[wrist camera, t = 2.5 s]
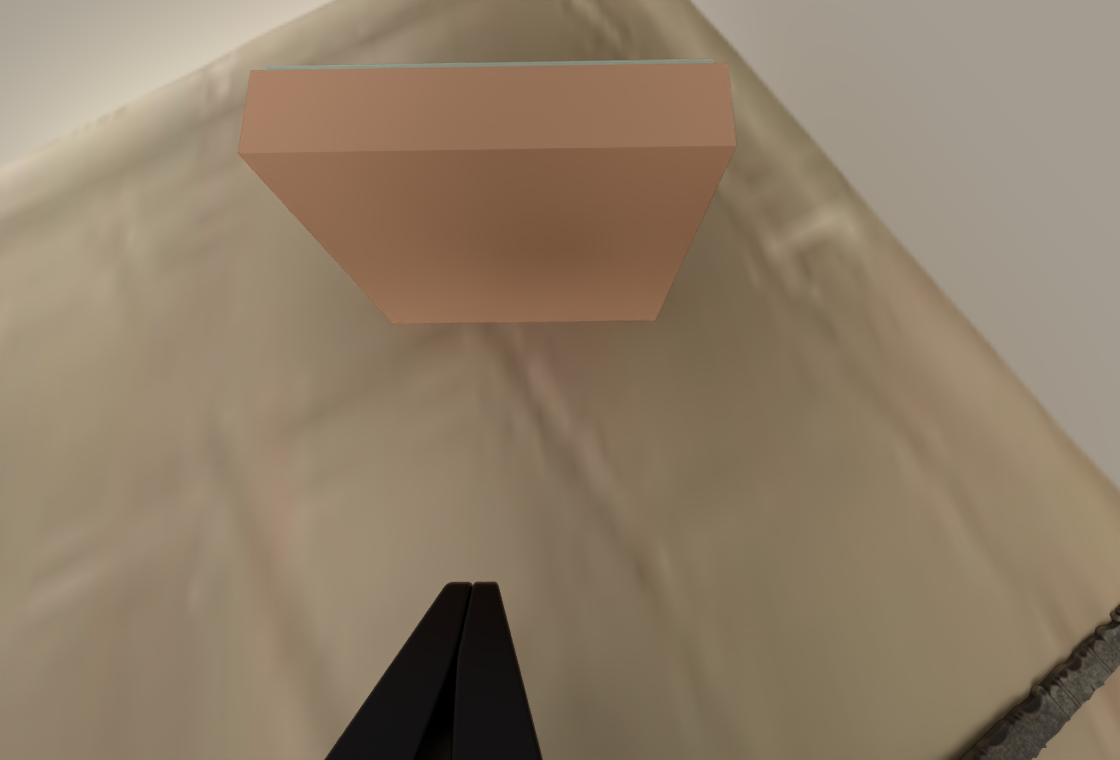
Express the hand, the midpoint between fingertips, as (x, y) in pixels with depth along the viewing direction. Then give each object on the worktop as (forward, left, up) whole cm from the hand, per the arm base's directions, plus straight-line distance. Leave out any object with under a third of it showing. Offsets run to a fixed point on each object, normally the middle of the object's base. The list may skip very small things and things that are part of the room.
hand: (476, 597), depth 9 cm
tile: (+9, -3, -10) cm, 14 cm away
